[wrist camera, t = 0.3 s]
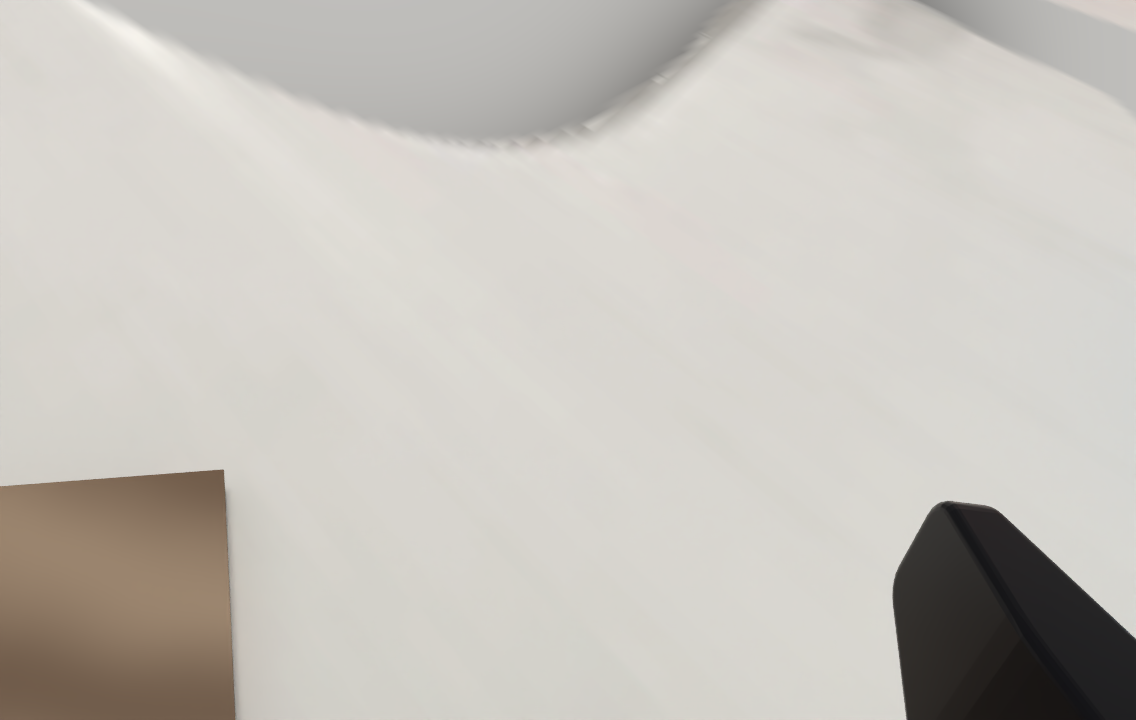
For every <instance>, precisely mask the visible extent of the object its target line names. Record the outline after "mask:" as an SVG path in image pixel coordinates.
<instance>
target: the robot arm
mask: <svg viewBox="0 0 1136 720" xmlns="http://www.w3.org/2000/svg"><path fill="white" fill-rule="evenodd" d="M893 608H894V617H895V625H896V634H897V642H898V651H899V659H900V668H901V676H902V685H903V694H904V702H905V711H906V719H907V720H1136V639H1135V638H1134V637H1133V636H1132V635H1131V634H1130V633H1129V632H1128V631H1127V630H1126V629H1125V628H1123V627H1122V626H1121V625H1120V624H1119V623H1118V622H1117V621H1116V620H1115V619H1114V618H1113V617H1112V616H1111V615H1110V614H1109V613H1107V612H1106V611H1105V610H1104V609H1103V608H1102V607H1101V606H1100V605H1099V604H1098V603H1097V602H1096V601H1095V600H1094V599H1092V598H1091V597H1090V596H1089V595H1088V594H1087V593H1086V592H1085V591H1084V590H1083V589H1082V588H1081V587H1080V586H1079V585H1077V584H1076V583H1075V582H1074V581H1073V580H1072V579H1071V578H1070V577H1069V576H1068V575H1067V574H1066V573H1065V572H1064V571H1062V570H1061V569H1060V568H1059V567H1058V566H1057V565H1056V564H1055V563H1054V562H1053V561H1052V560H1051V559H1050V558H1049V557H1047V556H1046V555H1045V554H1044V553H1043V552H1042V551H1041V550H1040V549H1039V548H1038V547H1037V546H1036V545H1035V544H1034V543H1032V542H1031V541H1030V540H1029V539H1028V538H1027V537H1026V536H1025V535H1024V534H1023V533H1022V532H1021V531H1020V530H1019V529H1017V528H1016V527H1015V526H1014V525H1013V524H1012V523H1011V522H1010V521H1009V520H1008V519H1007V518H1006V517H1005V516H1004V515H1002V514H1001V513H1000V512H999V511H997V510H996V509H994V508H992V507H989V506H986V505H978V504H970V503H962V502H954V501H945V502H940V503H939V504H937V505H936V506H934V507H933V508H932V509H931V511H930V512H929V514H928V515H927V517H926V519H925V521H924V522H923V524H922V526H921V528H920V530H919V531H918V533H917V535H916V537H915V539H914V540H913V542H912V544H911V546H910V547H909V549H908V551H907V553H906V555H905V556H904V558H903V560H902V562H901V564H900V565H899V567H898V570H897V572H896V575H895V579H894V584H893Z"/></svg>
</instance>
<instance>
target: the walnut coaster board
mask: <svg viewBox="0 0 1136 720" xmlns="http://www.w3.org/2000/svg"><path fill="white" fill-rule="evenodd" d="M0 720H235V702H234V680H233V658H232V636H231V614H230V591H229V569H228V547H227V525H226V503H225V483H224V470H212V471H199V472H185V473H172V474H159V475H146V476H133V477H119V478H106V479H93V480H80V481H66V482H53V483H40V484H27V485H14V486H0Z"/></svg>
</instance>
